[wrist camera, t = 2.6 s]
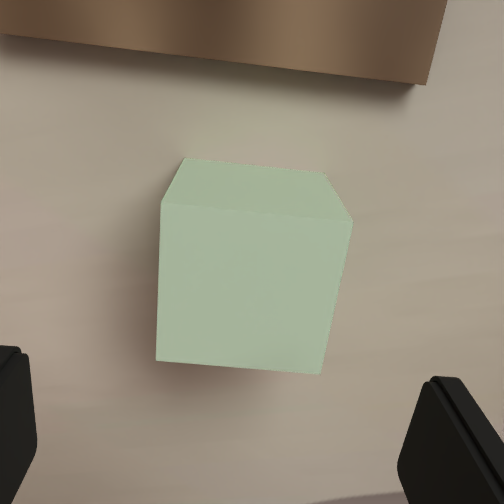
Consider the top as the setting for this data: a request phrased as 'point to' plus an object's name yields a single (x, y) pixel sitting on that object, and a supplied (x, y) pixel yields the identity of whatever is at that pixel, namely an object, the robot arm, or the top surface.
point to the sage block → (249, 266)
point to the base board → (250, 31)
